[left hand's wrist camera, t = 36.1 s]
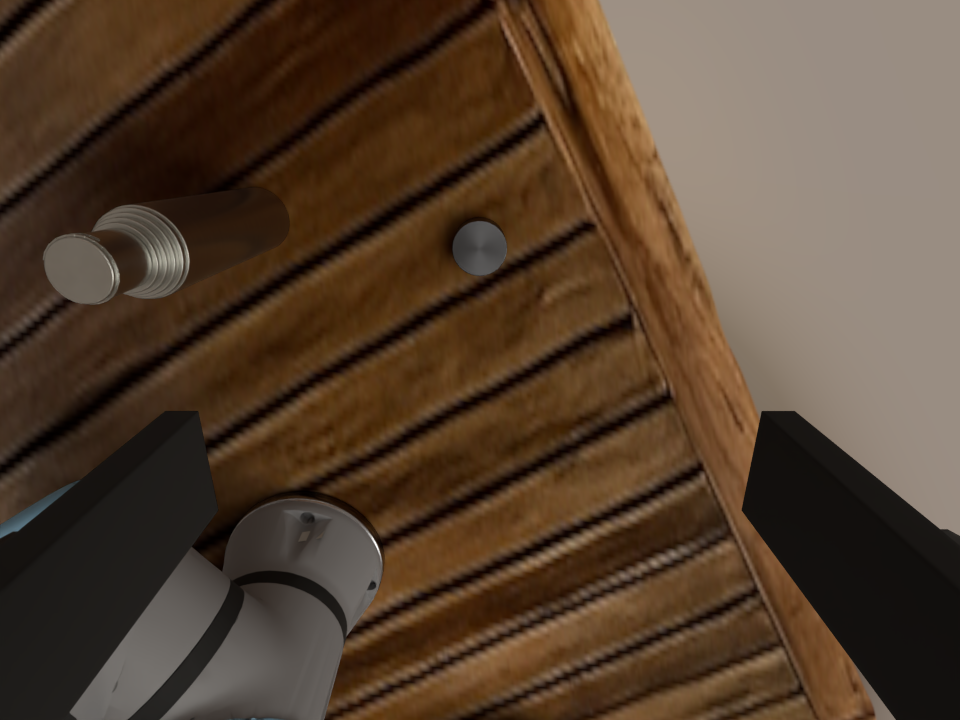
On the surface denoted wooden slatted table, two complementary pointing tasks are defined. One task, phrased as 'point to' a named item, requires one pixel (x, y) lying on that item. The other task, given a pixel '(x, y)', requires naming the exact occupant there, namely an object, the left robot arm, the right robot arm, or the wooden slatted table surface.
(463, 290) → the wooden slatted table surface
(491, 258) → the cap
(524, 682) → the wooden slatted table surface
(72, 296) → the bottle
